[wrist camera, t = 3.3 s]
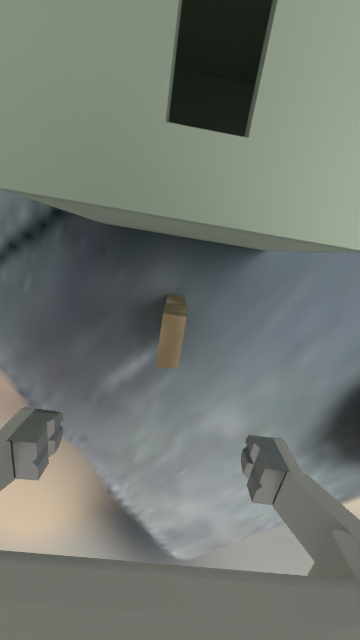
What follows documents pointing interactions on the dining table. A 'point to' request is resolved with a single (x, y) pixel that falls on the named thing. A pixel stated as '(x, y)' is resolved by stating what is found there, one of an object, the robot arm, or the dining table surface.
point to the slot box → (188, 116)
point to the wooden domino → (172, 332)
